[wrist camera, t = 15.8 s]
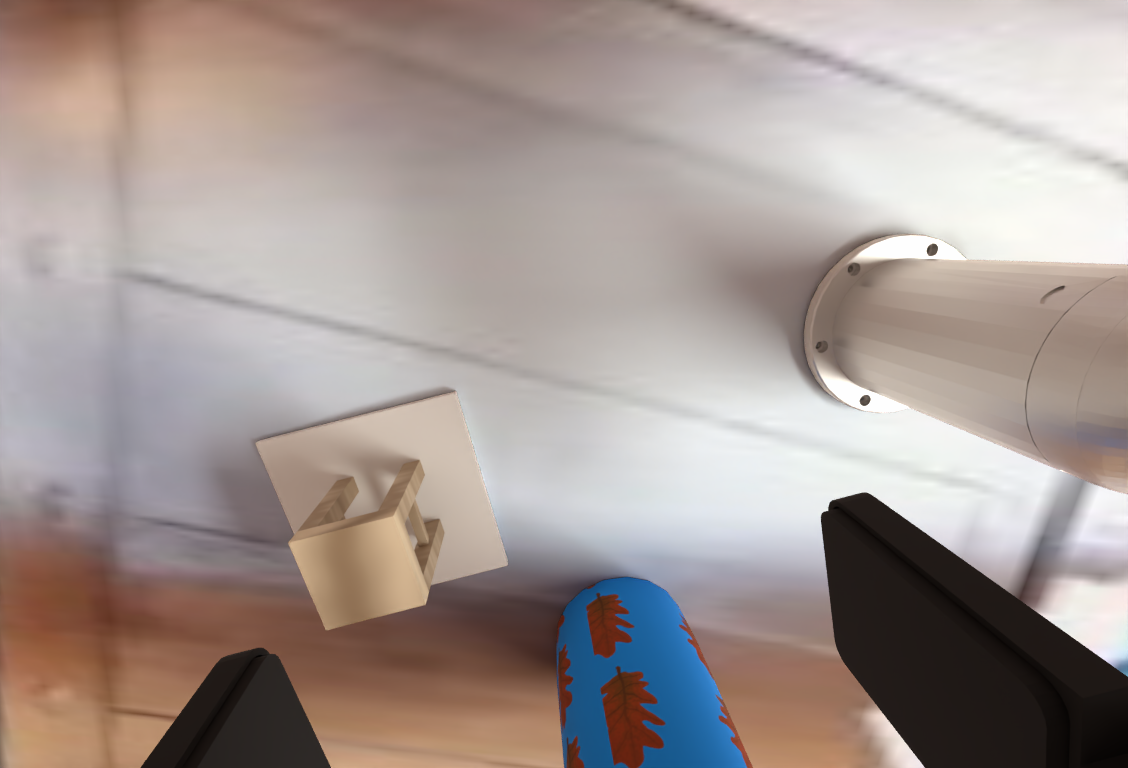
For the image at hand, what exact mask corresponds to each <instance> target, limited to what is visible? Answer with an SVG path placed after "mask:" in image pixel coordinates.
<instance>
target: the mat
mask: <svg viewBox="0 0 1128 768" xmlns="http://www.w3.org/2000/svg"><path fill="white" fill-rule="evenodd" d="M255 444H256V447H257V449H258V451H259V454H260V456H261V458H262V461H263V463H264V465H265V468H266V470H267V472H268V475H269V477H270V479H271V482H272V484H273V486H274V489H275V491H276V493H277V496H278V498H279V500H280V503H281V505H282V507H283V510H284V512H285V514H286V517H287V519H288V521H289V524H290V526H291V528H292V531H293V533H294V535H295V534H296V532H297V531H298V530H299V528H300V527H301V526H302V525H303V523H304V522H305V521H306V519H307V518H308V517H309V516H310V514H311V513H312V512H313V511H314V509H315V508H316V507H317V505H318V504H319V503H320V502H321V500H322V499H323V498H324V496H325V495H326V494H327V493H328V491H329V490H330V489H331V488H332V486H333V485H334V484H335V482H336V481H338V480H342V479H346V478H350V477H354V479H355V482H356V484H357V487H358V490H359V493H358V494H357V496H356V497H355V499H354V500H353V502H352V503H351V505H350V506H349V508H348V509H347V511H346V512H345V514H344V516H345V519H349V518H353V517H357V516H360V515H364V514H368V513H372V512H376V511H378V510H379V508H380V506H381V504H382V503H383V501H384V499H385V497H386V495H387V493H388V491H389V490H390V488H391V486H392V484H393V482H394V480H395V478H396V477H397V475H398V473H399V471H400V469H401V467H402V465H403V464H405V463H409V462H413V461H417V460H420V462H421V464H422V467H423V470H424V473H425V476H424V479H423V481H422V483H421V486H420V488H419V491H418V493H417V495H416V498H415V499H416V502H417V505H418V508H419V511H420V513H421V516H422V519H423V522H424V523H425V522H429V521H433V520H437V519H440V521H441V523H442V526H443V529H444V532H445V534H444V537H443V541H442V545H441V549H440V553H439V556H438V560H437V564H436V568H435V571H434V575H433V579H432V583H431V585H434V584H438V583H442V582H446V581H450V580H454V579H457V578H461V577H465V576H469V575H473V574H477V573H481V572H485V571H489V570H493V569H497V568H500V567H504V566H508V559H507V556H506V552H505V549H504V546H503V543H502V539H501V536H500V533H499V530H498V526H497V523H496V520H495V517H494V513H493V510H492V507H491V503H490V500H489V497H488V494H487V490H486V487H485V484H484V481H483V477H482V474H481V471H480V468H479V464H478V461H477V458H476V454H475V451H474V448H473V445H472V441H471V438H470V435H469V432H468V428H467V425H466V422H465V419H464V415H463V412H462V409H461V405H460V402H459V399H458V396H457V392H456V391H454V392H450V393H446V394H442V395H438V396H434V397H430V398H426V399H422V400H418V401H414V402H410V403H406V404H402V405H398V406H394V407H390V408H386V409H382V410H378V411H374V412H370V413H366V414H362V415H358V416H354V417H350V418H346V419H342V420H338V421H334V422H330V423H326V424H322V425H318V426H314V427H310V428H306V429H302V430H298V431H294V432H290V433H286V434H282V435H278V436H274V437H270V438H266V439H262V440H259V441H258V442H256V443H255ZM405 526H406V529H407V532H408V535H409V537H410V540H411V543H412V546H413V549H414V550H415V547H416V544H417V539H416V536H415V533H414V530H413V527H412V525H411V522H410V519H409V516H408V517H407V519H406V522H405Z"/></svg>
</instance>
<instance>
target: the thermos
mask: <svg viewBox="0 0 1128 768" xmlns="http://www.w3.org/2000/svg"><path fill="white" fill-rule="evenodd" d="M556 646H557V686H558V698H559V710H560V722H561V734H562V746H563V758H564V768H753V767H752V764H751V762H750V760H749V758H748V755H747V753H746V751H745V749H744V746H743V744H742V742H741V740H740V737H739V735H738V733H737V731H736V729H735V726H734V724H733V722H732V720H731V717H730V715H729V713H728V711H727V708H726V706H725V704H724V702H723V699H722V697H721V695H720V693H719V690H718V688H717V686H716V684H715V681H714V679H713V677H712V675H711V672H710V670H709V668H708V666H707V663H706V661H705V659H704V657H703V654H702V652H701V650H700V648H699V645H698V643H697V641H696V639H695V637H694V635H693V633H692V631H691V629H690V627H689V626H688V624H687V622H686V620H685V618H684V616H683V614H682V612H681V611H680V609H679V607H678V605H677V604H676V603H675V601H674V600H673V599H672V598H671V596H670V595H669V594H668V592H667V591H665V590H664V589H662V588H660V587H658V586H657V585H655V584H653V583H652V582H650V581H647V580H641V579H636V578H630V577H622V578H615V579H607V580H603V581H601V582H599V583H597V584H594V585H592V586H590V587H588V588H586V589H584V590H583V591H581V592H580V593H579V594H578V595H577V596H576V597H575V598H574V599H573V600H572V601H571V602H570V603H569V604H567V606H566V608H565V610H564V612H563V614H562V616H561V618H560V620H559V622H558V630H557V641H556Z"/></svg>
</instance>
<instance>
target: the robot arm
mask: <svg viewBox="0 0 1128 768" xmlns="http://www.w3.org/2000/svg"><path fill="white" fill-rule="evenodd" d="M848 267H849V270H848ZM817 343H818V345H817ZM816 345H817V347H816ZM804 347H805V354H806V358H807V361H808V365H809V367H810V369H811V371H812V373H813V375H814V377H815V379H816V381H817V382H818V383H819V384H820V385H821V387H822V388H823V389H824V390H825V391H826V392H827V393H828V394H830V395H831V396H832V397H834V398H835V399H836V400H838V401H840V402H842V403H844V404H846V405H848V406H850V407H853V408H855V409H858V410H861V411H867V412H874V413H886V412H896V411H900V410H904V409H908V408H911V409H914V410H916V411H919V412H921V413H923V414H926V415H928V416H931V417H933V418H935V419H938V420H940V421H942V422H945V423H947V424H950V425H952V426H954V427H957V428H959V429H962V430H964V431H966V432H969V433H971V434H974V435H976V436H978V437H981V438H983V439H986V440H988V441H990V442H993V443H995V444H998V445H1000V446H1002V447H1005V448H1007V449H1010V450H1012V451H1014V452H1017V453H1019V454H1022V455H1024V456H1026V457H1029V458H1031V459H1033V460H1036V461H1038V462H1041V463H1043V464H1046V465H1048V466H1050V467H1053V468H1055V469H1058V470H1060V471H1063V472H1066V473H1068V474H1070V475H1073V476H1075V477H1078V478H1080V479H1083V480H1085V481H1087V482H1090V483H1092V484H1095V485H1098V486H1101V487H1104V488H1107V489H1109V490H1113V491H1116V492H1120V493H1125V494H1128V265H1125V264H1093V263H1061V262H1028V261H996V260H967V259H966V258H965V257H964V256H963V255H962V254H961V253H960V252H959V251H958V250H956V249H955V248H954V247H953V246H951V245H949V244H947V243H946V242H944V241H942V240H940V239H937V238H933V237H930V236H926V235H916V234H901V235H890V236H886V237H882V238H878V239H874V240H872V241H870V242H867V243H865V244H863V245H861V246H859V247H857V248H856V249H854V250H853V251H851V252H850V253H848V254H847V255H846V256H844V257H843V258H842V259H841V260H840V261H839V262H838V263H837V264H836V265H835V266H834V267H833V268H832V269H831V270H830V271H829V272H828V273H827V275H826V276H825V278H824V279H823V280H822V282H821V283H820V284H819V286H818V288H817V290H816V292H815V294H814V296H813V298H812V300H811V302H810V306H809V309H808V312H807V315H806V320H805V328H804ZM821 525H822V534H823V542H824V551H825V560H826V568H827V577H828V586H829V594H830V603H831V612H832V620H833V629H834V638H835V643H836V647H837V650H838V652H839V654H840V656H841V658H842V660H843V662H844V663H845V665H846V666H847V667H848V669H849V670H850V671H851V673H852V674H853V675H854V676H855V678H856V679H857V680H858V682H859V683H860V684H861V686H862V687H863V688H864V689H865V691H866V692H867V693H868V695H869V696H870V697H871V698H872V700H873V701H874V702H875V704H876V705H877V706H878V707H879V709H880V710H881V711H882V713H883V714H884V715H885V717H886V718H887V719H888V720H889V722H890V723H891V724H892V726H893V727H894V728H895V729H896V731H897V732H898V733H899V735H900V736H901V737H902V738H903V740H904V741H905V742H906V744H907V745H908V746H909V747H910V749H911V750H912V751H913V753H914V754H915V755H916V757H917V758H918V759H919V760H920V762H921V763H922V764H923V766H924V767H925V768H1128V677H1127V676H1126V675H1124V674H1123V673H1121V672H1120V671H1119V670H1117V669H1116V668H1114V667H1113V666H1112V665H1110V664H1109V663H1107V662H1106V661H1105V660H1103V659H1102V658H1100V657H1099V656H1098V655H1096V654H1095V653H1093V652H1092V651H1091V650H1089V649H1088V648H1086V647H1085V646H1083V645H1082V644H1081V643H1079V642H1078V641H1076V640H1075V639H1074V638H1072V637H1071V636H1069V635H1068V634H1067V633H1065V632H1064V631H1062V630H1061V629H1060V628H1058V627H1057V626H1055V625H1054V624H1053V623H1051V622H1050V621H1048V620H1047V619H1045V618H1044V617H1043V616H1041V615H1040V614H1038V613H1037V612H1036V611H1034V610H1033V609H1031V608H1030V607H1029V606H1027V605H1026V604H1024V603H1023V602H1022V601H1020V600H1019V599H1017V598H1016V597H1015V596H1013V595H1012V594H1010V593H1009V592H1007V591H1006V590H1005V589H1003V588H1002V587H1000V586H999V585H998V584H996V583H995V582H993V581H992V580H991V579H989V578H988V577H986V576H985V575H984V574H982V573H981V572H979V571H978V570H977V569H975V568H974V567H972V566H971V565H969V564H968V563H967V562H965V561H964V560H962V559H961V558H960V557H958V556H957V555H955V554H954V553H953V552H951V551H950V550H948V549H947V548H946V547H944V546H943V545H941V544H940V543H939V542H937V541H936V540H934V539H933V538H931V537H930V536H929V535H927V534H926V533H924V532H923V531H922V530H920V529H919V528H917V527H916V526H915V525H913V524H912V523H910V522H909V521H908V520H906V519H905V518H903V517H902V516H901V515H899V514H898V513H896V512H895V511H893V510H892V509H891V508H889V507H888V506H886V505H885V504H884V503H882V502H881V501H879V500H878V499H877V498H875V497H874V496H872V495H871V494H869V493H859V494H855V495H852V496H848V497H844V498H840V499H836V500H832V501H831V502H830V504H829V507H828V511H826V512H823V513H822V515H821ZM141 768H331V767H330V765H329V762H328V760H327V758H326V756H325V754H324V752H323V750H322V748H321V745H320V743H319V741H318V739H317V737H316V735H315V733H314V731H313V728H312V726H311V724H310V722H309V720H308V718H307V716H306V714H305V712H304V709H303V707H302V705H301V703H300V701H299V699H298V697H297V695H296V692H295V690H294V688H293V686H292V684H291V682H290V680H289V678H288V675H287V673H286V671H285V669H284V667H283V665H282V663H281V661H280V659H279V657H278V656H276V655H275V654H269V652H268V651H267V650H265V649H264V648H256V649H252V650H248V651H244V652H240V653H236V654H232V655H228V656H225V657H223V658H221V659H220V660H219V661H218V662H217V663H216V665H215V666H214V668H213V669H212V670H211V672H210V673H209V674H208V676H207V677H206V679H205V680H204V681H203V683H202V684H201V685H200V687H199V688H198V689H197V691H196V692H195V694H194V695H193V696H192V698H191V699H190V700H189V702H188V703H187V705H186V706H185V707H184V709H183V710H182V711H181V713H180V714H179V716H178V717H177V718H176V720H175V721H174V722H173V724H172V725H171V727H170V728H169V729H168V731H167V732H166V733H165V735H164V736H163V738H162V739H161V740H160V742H159V743H158V744H157V746H156V747H155V749H154V750H153V751H152V753H151V754H150V755H149V757H148V758H147V760H146V761H145V762H144V764H143V765H142V766H141Z"/></svg>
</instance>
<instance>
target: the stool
mask: <svg viewBox="0 0 1128 768" xmlns="http://www.w3.org/2000/svg"><path fill="white" fill-rule="evenodd" d="M424 476H425V473H424V470H423V467H422V464H421V462H420V460H417V461H413V462H409V463H405V464H403V465H402V467H401V469H400V471H399V473H398V475H397V477H396V478H395V480H394V482H393V484H392V486H391V488H390V490H389V491H388V493H387V495H386V497H385V499H384V501H383V503H382V504H381V506H380V508H379V510H378V511H376V512H372V513H368V514H364V515H360V516H357V517H353V518H349V519H345V516H344V514H345V512H346V511H347V509H348V508H349V506H350V505H351V503H352V502H353V500H354V499H355V497H356V496H357V494H358V493H359V490H358V487H357V484H356V482H355V479H354V477H350V478H346V479H342V480H338V481H336V482H335V484H334V485H333V486H332V488H331V489H330V490H329V491H328V493H327V494H326V495H325V496H324V498H323V499H322V500H321V502H320V503H319V504H318V505H317V507H316V508H315V509H314V511H313V512H312V513H311V514H310V516H309V517H308V518H307V519H306V521H305V522H304V523H303V525H302V526H301V527H300V528H299V530H298V531H297V532H296V534H295V535H294V536H293V537H292V539H291V540H290V541H289V542H288V544H289V546H290V548H291V551H292V553H293V555H294V558H295V560H296V562H297V565H298V567H299V569H300V571H301V574H302V576H303V578H304V581H305V583H306V585H307V588H308V590H309V592H310V595H311V597H312V599H313V601H314V604H315V606H316V608H317V611H318V613H319V615H320V618H321V620H322V622H323V624H324V627H325V629H326V630H330V629H333V628H337V627H341V626H345V625H349V624H353V623H357V622H361V621H365V620H368V619H372V618H376V617H380V616H384V615H388V614H392V613H396V612H400V611H403V610H407V609H411V608H415V607H419V606H423V605H426V602H427V598H428V594H429V590H430V587H431V583H432V579H433V575H434V571H435V568H436V564H437V560H438V556H439V553H440V549H441V545H442V541H443V537H444V534H445V532H444V529H443V526H442V523H441V521H440V519H437V520H433V521H429V522H425V523H424V522H423V519H422V516H421V513H420V511H419V508H418V505H417V502H416V499H415V498H416V495H417V493H418V491H419V488H420V486H421V483H422V481H423V479H424ZM408 516H409V519H410V522H411V525H412V527H413V530H414V533H415V536H416V539H417V544H416V547H415V550H414V549H413V546H412V543H411V540H410V537H409V535H408V532H407V529H406V526H405V522H406V519H407V517H408Z"/></svg>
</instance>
